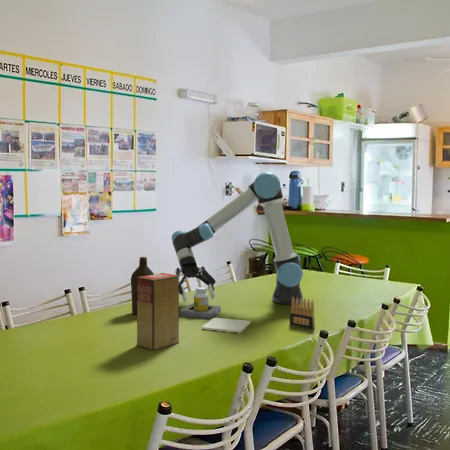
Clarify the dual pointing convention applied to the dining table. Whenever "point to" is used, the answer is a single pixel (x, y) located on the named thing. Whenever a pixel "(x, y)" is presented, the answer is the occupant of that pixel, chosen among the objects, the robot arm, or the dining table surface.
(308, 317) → the ammunition clip
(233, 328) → the cream tile
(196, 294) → the pill bottle
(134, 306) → the olive oil
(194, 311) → the metal collar
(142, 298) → the food packaging
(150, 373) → the dining table surface
